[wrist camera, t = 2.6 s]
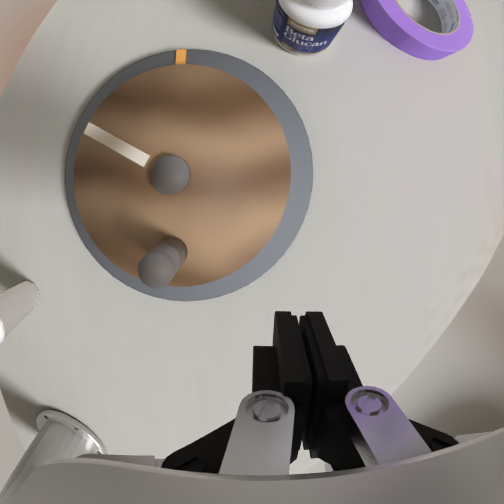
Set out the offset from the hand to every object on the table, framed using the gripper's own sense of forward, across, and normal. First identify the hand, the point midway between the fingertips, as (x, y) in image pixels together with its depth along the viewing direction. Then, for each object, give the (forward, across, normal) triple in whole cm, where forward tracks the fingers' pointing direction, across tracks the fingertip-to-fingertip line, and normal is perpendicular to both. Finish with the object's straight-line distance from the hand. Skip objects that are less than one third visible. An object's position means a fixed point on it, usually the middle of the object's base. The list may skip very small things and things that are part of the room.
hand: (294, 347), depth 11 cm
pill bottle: (+17, -2, -19) cm, 26 cm away
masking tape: (+18, -14, -25) cm, 33 cm away
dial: (+15, +8, -6) cm, 18 cm away
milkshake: (+17, +28, +7) cm, 33 cm away
